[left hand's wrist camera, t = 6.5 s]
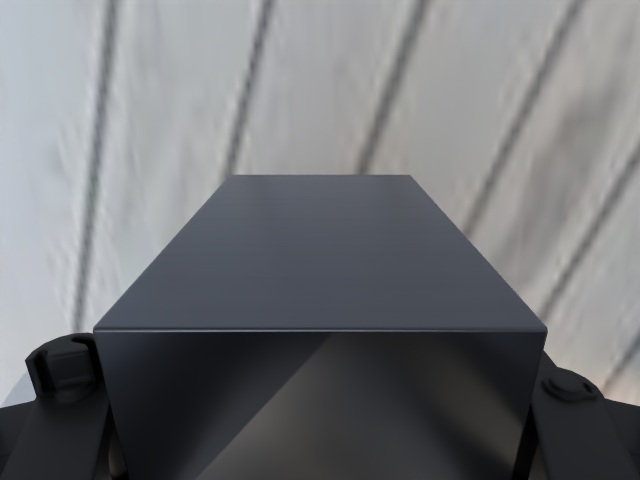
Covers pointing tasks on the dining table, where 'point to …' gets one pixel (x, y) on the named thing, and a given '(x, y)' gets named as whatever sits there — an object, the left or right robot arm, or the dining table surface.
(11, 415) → the left robot arm
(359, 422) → the bar
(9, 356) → the dining table surface
